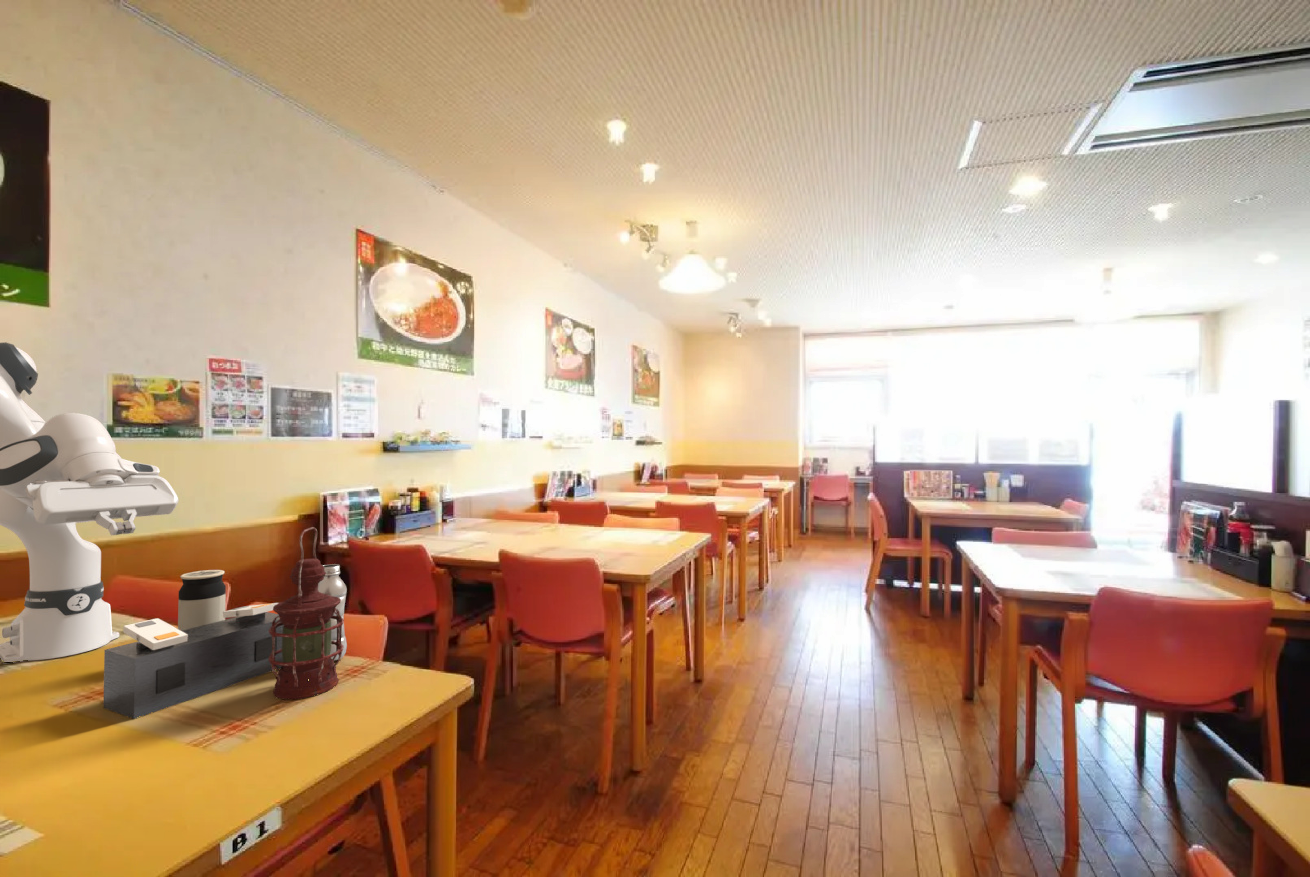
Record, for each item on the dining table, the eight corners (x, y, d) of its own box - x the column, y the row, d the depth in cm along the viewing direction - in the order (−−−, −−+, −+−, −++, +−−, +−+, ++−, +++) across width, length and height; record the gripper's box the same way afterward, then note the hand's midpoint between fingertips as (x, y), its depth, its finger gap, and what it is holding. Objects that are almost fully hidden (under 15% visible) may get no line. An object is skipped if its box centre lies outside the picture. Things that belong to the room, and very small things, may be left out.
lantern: (330, 698, 102) (332, 531, 102) (254, 705, 99) (256, 533, 100) (352, 672, 113) (353, 523, 114) (284, 677, 111) (286, 524, 112)
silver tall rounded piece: (331, 667, 116) (332, 569, 117) (303, 664, 117) (304, 568, 118) (353, 656, 122) (354, 563, 123) (326, 653, 124) (328, 562, 124)
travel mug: (223, 658, 121) (224, 574, 121) (174, 666, 116) (176, 579, 117) (225, 648, 127) (227, 568, 128) (180, 655, 123) (181, 572, 123)
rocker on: (122, 632, 100) (123, 625, 100) (157, 624, 105) (157, 617, 105) (153, 650, 96) (153, 642, 96) (187, 641, 101) (188, 633, 101)
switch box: (103, 707, 98) (104, 644, 98) (260, 657, 122) (261, 606, 122) (135, 719, 94) (136, 652, 94) (291, 665, 117) (292, 611, 118)
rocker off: (223, 617, 115) (222, 611, 115) (249, 611, 119) (248, 605, 120) (253, 615, 111) (252, 608, 111) (279, 608, 115) (278, 602, 116)
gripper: (27, 469, 99) (52, 527, 95) (167, 466, 118) (193, 515, 114) (16, 493, 101) (40, 552, 97) (155, 486, 120) (180, 535, 116)
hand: (123, 532), depth 106 cm, fingers closed
